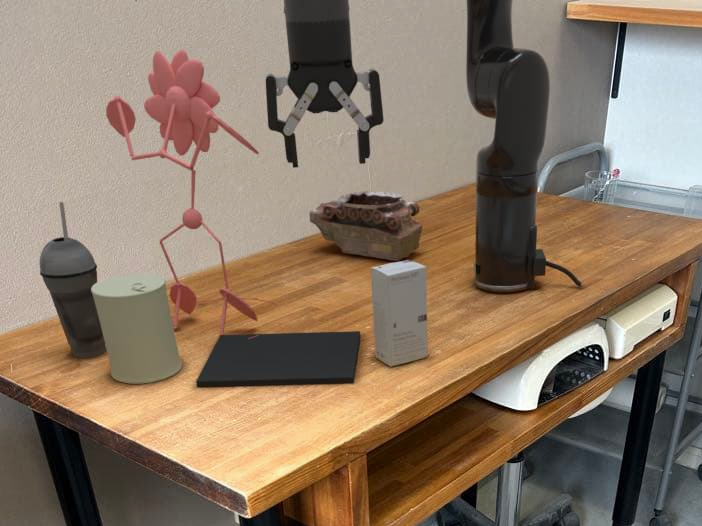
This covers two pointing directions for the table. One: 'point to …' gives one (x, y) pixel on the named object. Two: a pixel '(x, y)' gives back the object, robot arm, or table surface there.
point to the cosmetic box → (399, 312)
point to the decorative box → (370, 224)
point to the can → (137, 327)
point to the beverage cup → (73, 292)
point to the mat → (281, 359)
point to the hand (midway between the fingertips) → (329, 164)
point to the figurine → (182, 148)
